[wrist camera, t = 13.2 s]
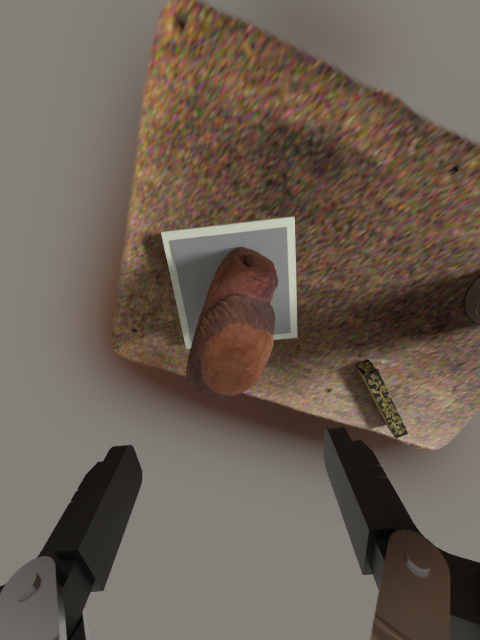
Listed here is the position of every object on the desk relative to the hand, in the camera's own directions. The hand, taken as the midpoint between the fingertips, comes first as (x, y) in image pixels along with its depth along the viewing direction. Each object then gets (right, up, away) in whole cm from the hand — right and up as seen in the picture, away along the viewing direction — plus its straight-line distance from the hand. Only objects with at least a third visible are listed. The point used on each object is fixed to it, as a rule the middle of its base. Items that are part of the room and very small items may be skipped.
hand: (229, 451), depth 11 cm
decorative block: (+24, -7, +34) cm, 43 cm away
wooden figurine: (0, +10, +23) cm, 25 cm away
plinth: (0, +11, +26) cm, 28 cm away
